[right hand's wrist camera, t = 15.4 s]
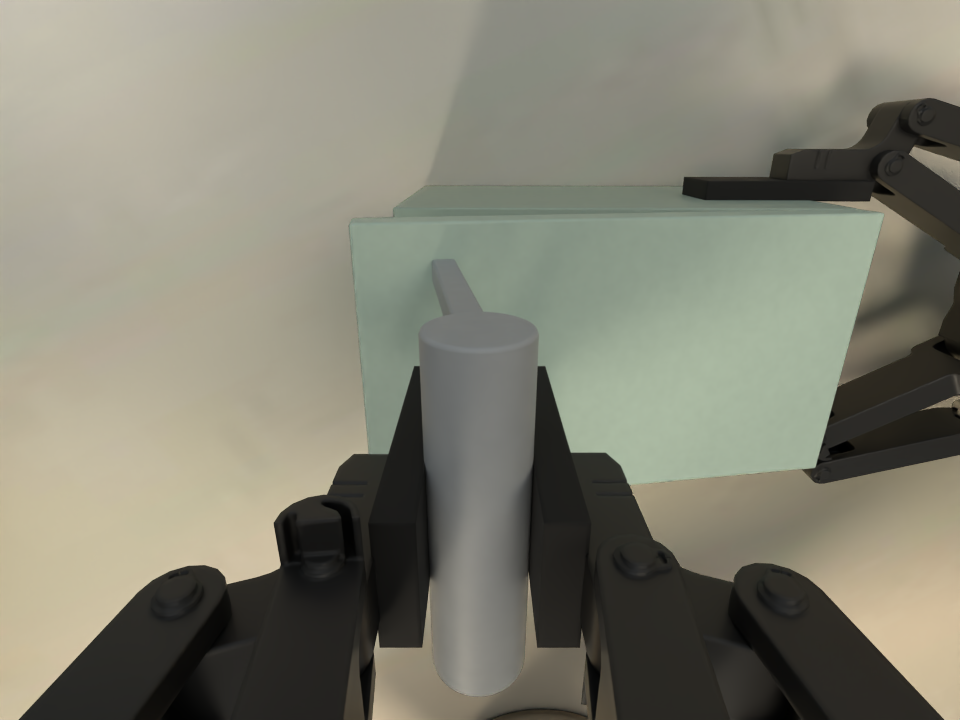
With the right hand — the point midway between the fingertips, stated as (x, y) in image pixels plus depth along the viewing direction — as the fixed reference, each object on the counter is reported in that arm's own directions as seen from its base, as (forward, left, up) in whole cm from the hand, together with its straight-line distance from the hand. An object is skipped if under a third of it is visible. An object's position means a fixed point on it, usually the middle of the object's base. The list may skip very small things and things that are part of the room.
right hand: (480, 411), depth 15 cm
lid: (+2, -4, -4) cm, 6 cm away
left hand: (+4, -8, -10) cm, 13 cm away
